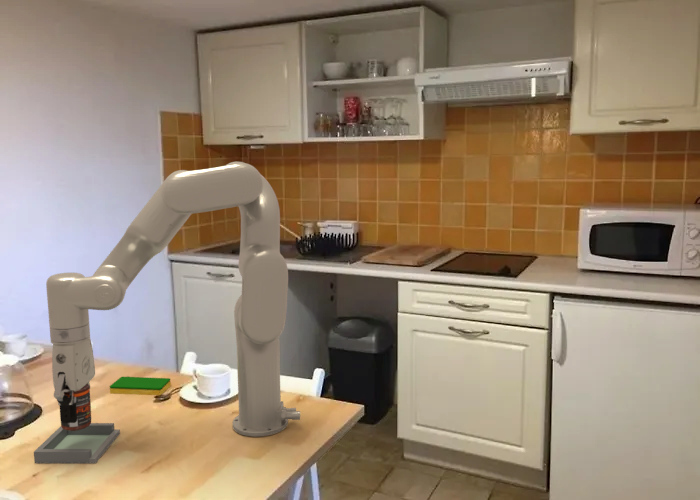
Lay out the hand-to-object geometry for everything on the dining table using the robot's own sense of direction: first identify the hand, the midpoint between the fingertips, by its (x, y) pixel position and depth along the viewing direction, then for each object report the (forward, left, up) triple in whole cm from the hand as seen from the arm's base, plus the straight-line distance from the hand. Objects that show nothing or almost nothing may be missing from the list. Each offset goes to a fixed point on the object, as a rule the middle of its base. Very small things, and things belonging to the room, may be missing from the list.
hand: (76, 414), depth 134 cm
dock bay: (0, 0, -7) cm, 7 cm away
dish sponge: (-2, -33, -8) cm, 34 cm away
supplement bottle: (0, 0, -3) cm, 3 cm away
